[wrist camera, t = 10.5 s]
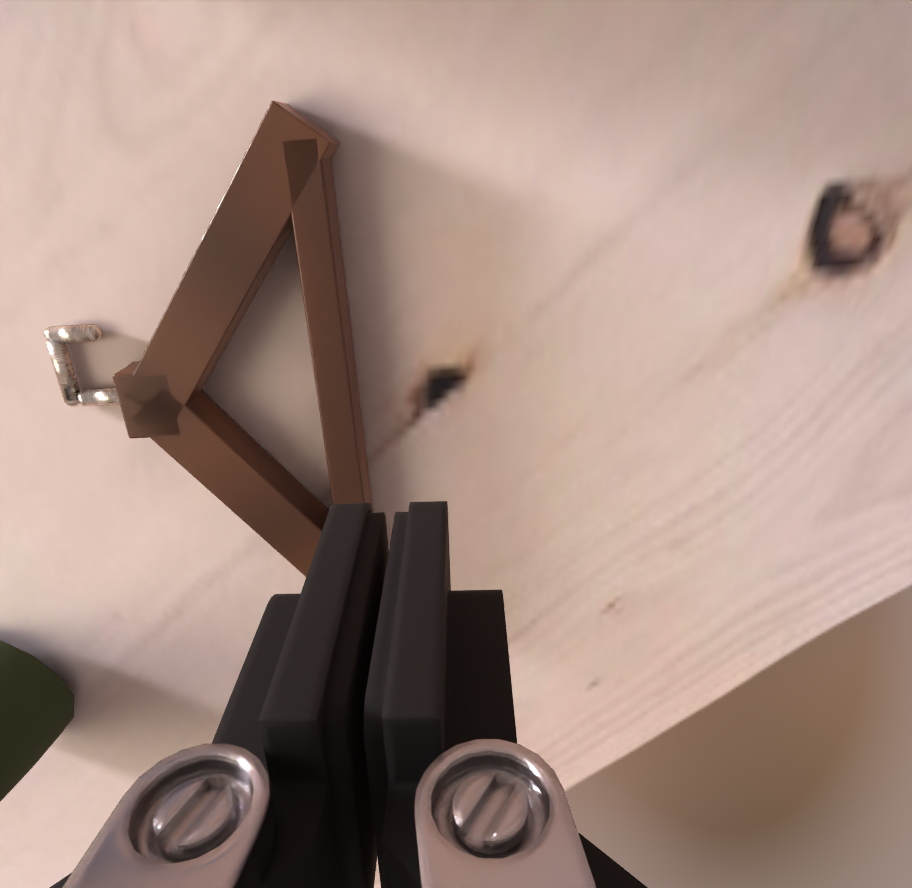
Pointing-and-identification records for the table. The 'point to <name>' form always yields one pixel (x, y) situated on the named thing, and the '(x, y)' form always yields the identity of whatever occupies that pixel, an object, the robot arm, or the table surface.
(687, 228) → the table surface
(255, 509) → the hanger
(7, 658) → the character mug
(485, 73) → the table surface
